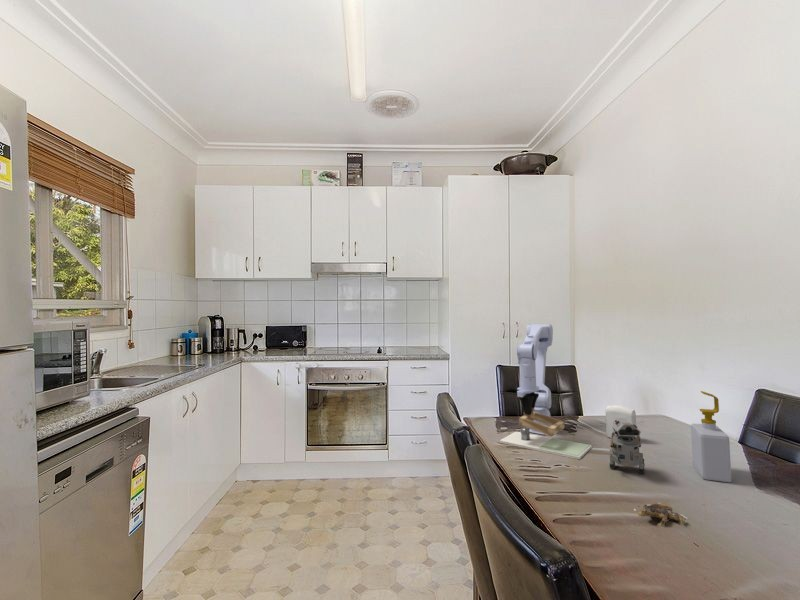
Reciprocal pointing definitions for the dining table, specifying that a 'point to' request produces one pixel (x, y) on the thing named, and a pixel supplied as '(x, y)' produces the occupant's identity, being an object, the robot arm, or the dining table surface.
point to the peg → (525, 433)
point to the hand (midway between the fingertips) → (529, 413)
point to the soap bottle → (711, 447)
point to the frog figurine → (661, 513)
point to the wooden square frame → (529, 423)
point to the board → (536, 444)
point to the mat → (564, 446)
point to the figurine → (626, 445)
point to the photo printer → (618, 416)
